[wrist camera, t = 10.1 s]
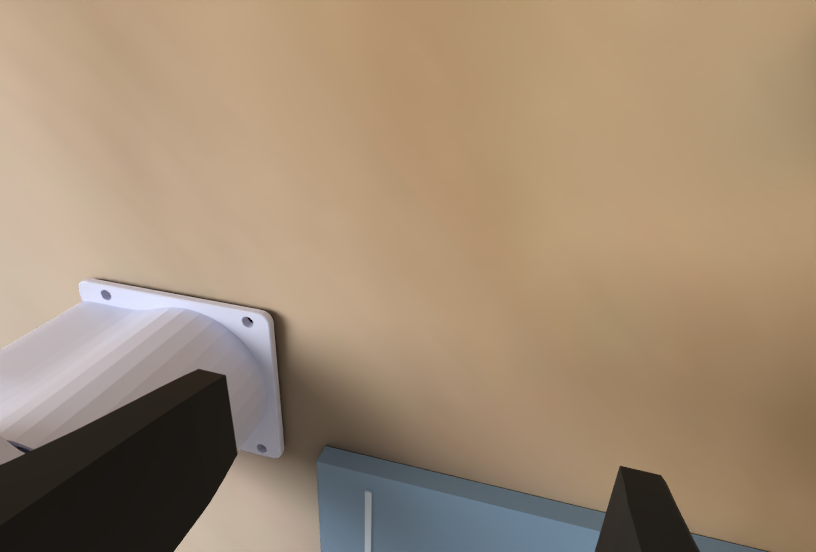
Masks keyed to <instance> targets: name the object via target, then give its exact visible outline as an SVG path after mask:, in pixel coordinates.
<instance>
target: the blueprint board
mask: <svg viewBox="0 0 816 552" xmlns="http://www.w3.org/2000/svg"><path fill="white" fill-rule="evenodd" d="M316 462H317V482H318V501H319V521H320V541H321V552H595V548H596V545H597V542H598V538H599V535H600V532H601V528H602V525H603V521H604V518H605V515H606V513H603V512H599V511H595V510H591V509H587V508H583V507H578V506H574V505H570V504H566V503H562V502H557V501H553V500H549V499H545V498H541V497H537V496H532V495H528V494H524V493H520V492H516V491H512V490H507V489H503V488H499V487H495V486H491V485H486V484H482V483H478V482H474V481H470V480H466V479H461V478H457V477H453V476H449V475H445V474H441V473H436V472H432V471H428V470H424V469H420V468H416V467H411V466H407V465H403V464H399V463H395V462H390V461H386V460H382V459H378V458H374V457H370V456H365V455H361V454H357V453H353V452H349V451H345V450H340V449H336V448H332V447H328V446H325V447H324V449H323V451H322V453H321V454H320V456H319V458H318V460H317V461H316ZM691 535H692V537H693V539H694V541H695V543H696V545H697V547H698V549H699V550H700V552H766V551H762V550H758V549H754V548H750V547H745V546H741V545H737V544H733V543H729V542H725V541H720V540H716V539H712V538H708V537H704V536H699V535H695V534H691Z"/></svg>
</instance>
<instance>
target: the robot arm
mask: <svg viewBox="0 0 816 552" xmlns="http://www.w3.org/2000/svg"><path fill="white" fill-rule="evenodd" d="M79 292H80V296H81V299H82V301H81V302H80V303H78V304H76V305H75V306H73V307H71V308H70V309H68V310H66V311H65V312H63V313H61V314H59V315H58V316H56V317H54V318H53V319H51V320H49V321H48V322H46V323H44V324H42V325H41V326H39V327H37V328H36V329H34V330H32V331H31V332H29V333H27V334H26V335H24V336H22V337H20V338H19V339H17V340H15V341H14V342H12V343H10V344H9V345H7V346H5V347H3V348H2V349H0V552H174V550H175V549H176V548H177V546H178V545H179V544H180V542H181V541H182V540H183V538H184V537H185V536H186V534H187V533H188V532H189V530H190V529H191V528H192V526H193V525H194V524H195V522H196V521H197V519H198V518H199V517H200V515H201V514H202V513H203V511H204V510H205V509H206V507H207V506H208V504H209V503H210V501H211V500H212V498H213V496H214V495H215V493H216V491H217V490H218V488H219V486H220V485H221V483H222V481H223V480H224V478H225V476H226V474H227V472H228V471H229V469H230V467H231V465H232V463H233V461H234V460H235V458H236V456H237V454H238V453H237V452H238V451H239V450H242V451H246V452H250V453H254V454H258V455H262V456H266V457H270V458H279V457H280V456H281V455H282V453H283V452H284V438H283V426H282V415H281V403H280V391H279V380H278V368H277V356H276V345H275V333H274V322H273V319H272V317H271V315H270V314H269V313H267V312H266V311H263V310H260V309H254V308H249V307H244V306H238V305H233V304H227V303H222V302H217V301H211V300H206V299H200V298H195V297H189V296H184V295H179V294H173V293H168V292H162V291H157V290H152V289H146V288H141V287H135V286H130V285H124V284H119V283H114V282H108V281H103V280H97V279H92V278H87V279H85V280H84V281H82V282H80V284H79ZM247 317H249V318H250V319H251V320H252V321H253V323H252V322H250V321H249V320H248V318H247ZM263 445H264V446H263ZM595 552H700V550H699V549H698V547H697V545H696V543H695V541H694V539H693V537H692V535H691V533H690V531H689V529H688V527H687V525H686V523H685V521H684V519H683V517H682V515H681V513H680V511H679V509H678V507H677V505H676V503H675V501H674V498H673V496H672V494H671V492H670V490H669V488H668V486H667V484H666V482H665V480H664V479H663V478H662V476H661V475H657V474H653V473H649V472H644V471H640V470H636V469H631V468H627V467H623V466H620V467H619V471H618V474H617V478H616V481H615V484H614V488H613V491H612V494H611V498H610V501H609V505H608V508H607V511H606V515H605V518H604V521H603V525H602V528H601V532H600V535H599V538H598V542H597V545H596V548H595Z"/></svg>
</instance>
